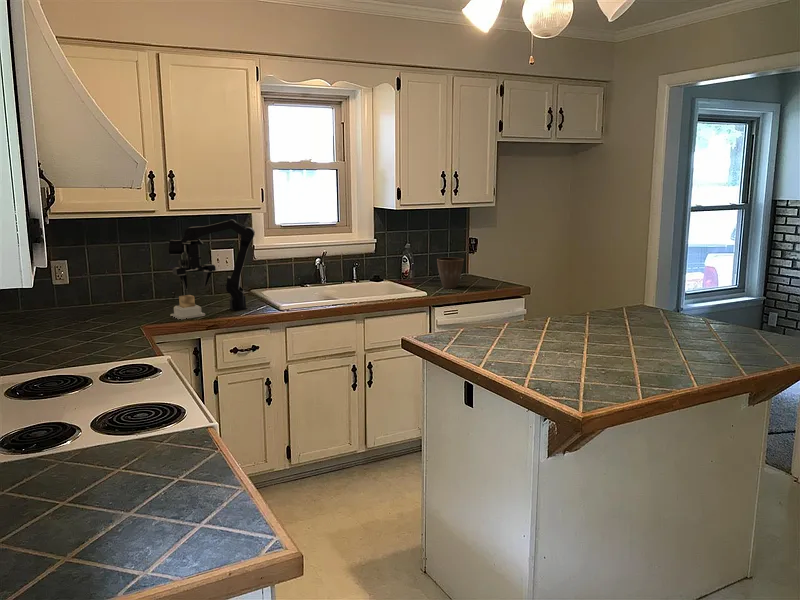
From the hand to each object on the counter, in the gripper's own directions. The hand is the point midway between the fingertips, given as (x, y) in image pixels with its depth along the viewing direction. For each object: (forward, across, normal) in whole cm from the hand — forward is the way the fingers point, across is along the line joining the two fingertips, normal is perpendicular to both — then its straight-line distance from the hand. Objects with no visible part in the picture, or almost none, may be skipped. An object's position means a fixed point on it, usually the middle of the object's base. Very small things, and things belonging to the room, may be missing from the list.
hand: (195, 287), depth 298 cm
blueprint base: (+11, +8, +8) cm, 16 cm away
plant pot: (+11, -130, +38) cm, 136 cm away
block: (+7, +8, +8) cm, 13 cm away
